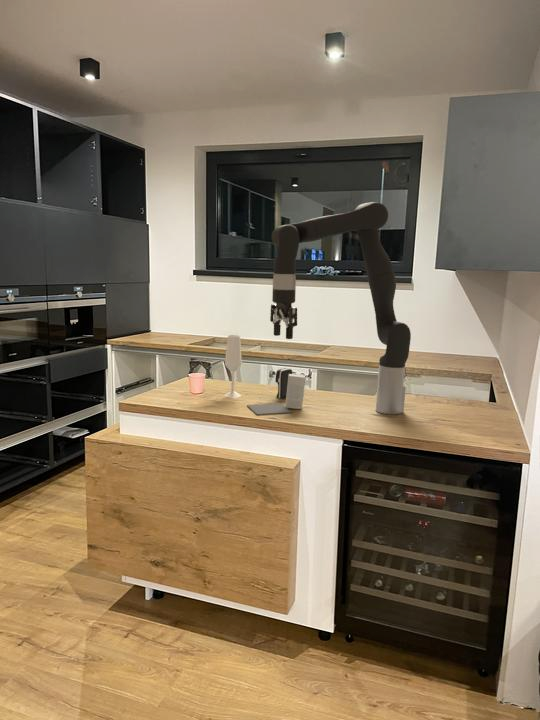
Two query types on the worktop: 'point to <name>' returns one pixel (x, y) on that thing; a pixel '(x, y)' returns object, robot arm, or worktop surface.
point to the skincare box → (295, 391)
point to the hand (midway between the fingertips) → (282, 337)
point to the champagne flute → (233, 360)
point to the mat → (269, 409)
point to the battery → (282, 381)
